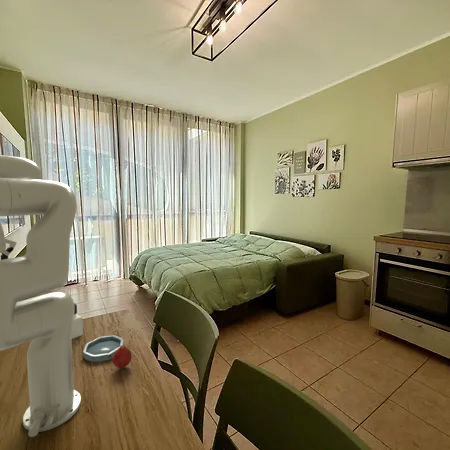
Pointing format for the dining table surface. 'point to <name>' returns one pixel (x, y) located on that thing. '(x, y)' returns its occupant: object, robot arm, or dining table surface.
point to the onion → (122, 357)
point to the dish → (102, 348)
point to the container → (77, 324)
